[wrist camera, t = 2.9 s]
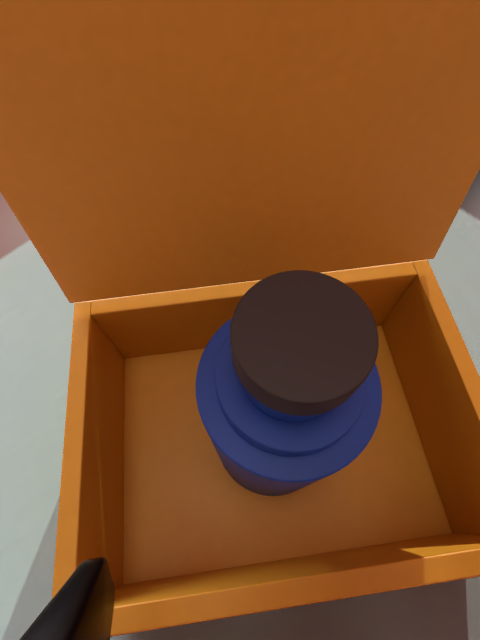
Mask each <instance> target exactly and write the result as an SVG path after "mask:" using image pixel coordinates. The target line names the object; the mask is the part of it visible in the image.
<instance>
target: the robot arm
mask: <svg viewBox="0 0 480 640" xmlns="http://www.w3.org/2000/svg"><path fill="white" fill-rule="evenodd" d="M114 603H115V587H114V583H113V580H112V576H111V573H110V569H109V566H108V562H107V560H106V559H105V558H104V557H99V558H93V559H87V560H84V561H83V562H82V563H81V564H80V565H79V566H78V567H77V569H76V570H75V571H74V572H73V574H72V575H71V576H70V577H69V579H68V580H67V581H66V582H65V584H64V585H63V586H62V587H61V589H60V590H59V591H58V592H57V594H56V595H55V596H54V597H53V599H52V600H51V601H50V602H49V604H48V605H47V606H46V607H45V609H44V610H43V611H42V612H41V614H40V615H39V616H38V617H37V619H36V620H35V621H34V622H33V624H32V625H31V626H30V627H29V629H28V630H27V631H26V632H25V634H24V635H23V636H22V637H21V639H20V640H110V635H111V627H112V619H113V611H114Z"/></svg>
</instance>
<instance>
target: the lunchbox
mask: <svg viewBox="0 0 480 640" xmlns="http://www.w3.org/2000/svg"><path fill="white" fill-rule="evenodd" d="M323 274H326V275H329V276H331V277H333V278H336V279H338V280H340V281H341V282H343V283H345V284H346V285H348V286H349V287H350V288H352V289H353V290H354V291H355V292H356V293H357V294H358V295H359V296H360V297H361V298H362V299H363V301H364V302H365V303H366V304H367V306H368V308H369V309H370V311H371V313H372V315H373V317H374V319H375V323H376V326H377V330H378V337H379V348H378V355H377V359H376V362H375V364H376V366H377V369H378V373H379V376H380V381H381V388H382V406H381V414H380V417H379V421H378V425H377V427H376V430H375V432H374V434H373V436H372V438H371V440H370V441H369V443H368V445H367V446H366V448H365V449H364V450H363V451H362V452H361V453H360V455H359V456H358V457H357V458H356V459H355V460H353V461H352V462H351V463H350V464H349V465H348V466H346V467H344V468H343V469H341V470H339V471H338V472H336V473H334V474H332V475H330V476H327V477H325V478H323V479H321V480H319V481H316V482H314V483H312V484H310V485H308V486H305V487H303V488H301V489H299V490H297V491H294V492H292V493H289V494H286V495H281V496H265V495H260V494H257V493H254V492H251V491H249V490H247V489H245V488H244V487H242V486H241V485H239V484H238V483H237V482H236V481H235V480H234V479H233V478H232V477H231V476H230V475H229V473H228V472H227V470H226V469H225V467H224V465H223V463H222V461H221V459H220V457H219V455H218V453H217V451H216V449H215V447H214V445H213V443H212V441H211V439H210V437H209V435H208V433H207V431H206V429H205V427H204V424H203V422H202V420H201V417H200V414H199V411H198V406H197V401H196V389H195V384H196V374H197V369H198V365H199V361H200V359H201V356H202V353H203V351H204V349H205V347H206V346H207V344H208V342H209V341H210V339H211V338H212V336H213V335H214V334H215V333H216V332H217V331H218V329H219V328H220V327H221V326H222V325H224V324H225V323H226V322H227V321H228V320H229V319H231V318H232V316H233V313H234V310H235V308H236V306H237V304H238V302H239V301H240V299H241V298H242V296H243V295H244V294H245V293H246V292H247V291H248V290H249V289H250V288H251V287H252V286H254V285H255V284H256V283H258V282H259V281H261V280H259V281H251V282H243V283H235V284H226V285H218V286H210V287H202V288H194V289H185V290H177V291H169V292H161V293H153V294H144V295H136V296H128V297H120V298H112V299H104V300H95V301H92V302H91V301H87V302H79V303H75V306H74V319H73V332H72V345H71V358H70V371H69V384H68V397H67V410H66V423H65V436H64V449H63V462H62V475H61V488H60V501H59V514H58V527H57V540H56V553H55V566H54V579H53V592H52V599H53V597H54V596H55V595H56V594H57V592H58V591H59V590H60V589H61V587H62V586H63V585H64V584H65V582H66V581H67V580H68V579H69V577H70V576H71V575H72V574H73V572H74V571H75V570H76V569H77V567H78V566H79V565H80V564H81V563H82V562H83V561H84V560H87V559H93V558H99V557H104V558H105V559H106V560H107V562H108V566H109V569H110V573H111V576H112V580H113V583H114V587H115V603H114V611H113V619H112V627H111V635H110V637H112V636H118V635H124V634H130V633H136V632H142V631H148V630H155V629H161V628H167V627H173V626H179V625H185V624H191V623H197V622H203V621H210V620H216V619H222V618H228V617H234V616H240V615H246V614H252V613H259V612H265V611H271V610H277V609H283V608H289V607H295V606H301V605H307V604H314V603H320V602H326V601H332V600H338V599H344V598H350V597H356V596H362V595H369V594H375V593H381V592H387V591H393V590H399V589H405V588H411V587H418V586H424V585H430V584H436V583H442V582H448V581H454V580H460V579H466V578H473V577H479V576H480V377H479V375H478V373H477V370H476V368H475V366H474V364H473V361H472V359H471V357H470V355H469V352H468V350H467V348H466V346H465V343H464V341H463V339H462V337H461V334H460V332H459V330H458V328H457V325H456V323H455V321H454V319H453V316H452V314H451V312H450V310H449V307H448V305H447V303H446V301H445V298H444V296H443V294H442V291H441V289H440V287H439V285H438V282H437V280H436V278H435V276H434V273H433V271H432V269H431V267H430V264H429V262H428V260H422V261H414V262H407V263H398V264H390V265H382V266H374V267H366V268H357V269H349V270H341V271H333V272H325V273H323Z"/></svg>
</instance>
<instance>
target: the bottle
mask: <svg viewBox="0 0 480 640" xmlns="http://www.w3.org/2000/svg"><path fill="white" fill-rule="evenodd" d="M378 348H379V337H378V330H377V326H376V323H375V319H374V317H373V315H372V313H371V311H370V309H369V308H368V306H367V304H366V303H365V302H364V301H363V299H362V298H361V297H360V296H359V295H358V294H357V293H356V292H355V291H354V290H353V289H352V288H350V287H349V286H348V285H346V284H345V283H343V282H341V281H340V280H338V279H336V278H333V277H331V276H329V275H326V274H323V273H319V272H314V271H307V270H293V271H285V272H280V273H277V274H274V275H271V276H269V277H266V278H264V279H262V280H261V281H259V282H258V283H256V284H255V285H254V286H252V287H251V288H250V289H249V290H248V291H247V292H246V293H245V294H244V295H243V296H242V298H241V299H240V301H239V302H238V304H237V306H236V308H235V310H234V313H233V316H232V318H231V319H229V320H228V321H227V322H226V323H225V324H224V325H222V326H221V327H220V328H219V329H218V331H217V332H216V333H215V334H214V335H213V336H212V338H211V339H210V341H209V342H208V344H207V346H206V347H205V349H204V351H203V353H202V356H201V359H200V361H199V365H198V369H197V374H196V384H195V389H196V401H197V406H198V411H199V414H200V417H201V420H202V422H203V424H204V427H205V429H206V431H207V433H208V435H209V437H210V439H211V441H212V443H213V445H214V447H215V449H216V451H217V453H218V455H219V457H220V459H221V461H222V463H223V465H224V467H225V469H226V470H227V472H228V473H229V475H230V476H231V477H232V478H233V479H234V480H235V481H236V482H237V483H238V484H239V485H241V486H242V487H244V488H245V489H247V490H249V491H251V492H254V493H257V494H260V495H265V496H281V495H286V494H289V493H292V492H294V491H297V490H299V489H301V488H303V487H305V486H308V485H310V484H312V483H314V482H316V481H319V480H321V479H323V478H325V477H327V476H330V475H332V474H334V473H336V472H338V471H339V470H341V469H343V468H344V467H346V466H348V465H349V464H350V463H351V462H352V461H353V460H355V459H356V458H357V457H358V456H359V455H360V453H361V452H362V451H363V450H364V449H365V448H366V446H367V445H368V443H369V441H370V440H371V438H372V436H373V434H374V432H375V430H376V427H377V425H378V421H379V417H380V414H381V406H382V388H381V381H380V376H379V373H378V369H377V366H376V364H375V362H376V359H377V355H378Z"/></svg>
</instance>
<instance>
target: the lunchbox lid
mask: <svg viewBox="0 0 480 640" xmlns="http://www.w3.org/2000/svg"><path fill="white" fill-rule="evenodd" d="M479 168H480V0H0V192H1V193H2V195H3V196H4V198H5V200H6V201H7V203H8V204H9V206H10V207H11V209H12V211H13V212H14V214H15V216H16V217H17V219H18V220H19V222H20V224H21V225H22V227H23V228H24V230H25V232H26V233H27V235H28V236H29V238H30V240H31V241H32V243H33V244H34V246H35V248H36V249H37V251H38V252H39V254H40V256H41V257H42V259H43V260H44V262H45V264H46V265H47V267H48V268H49V270H50V272H51V273H52V275H53V276H54V278H55V280H56V281H57V283H58V284H59V286H60V288H61V289H62V291H63V292H64V294H65V296H66V297H67V299H68V300H69V302H70V303H74V302H82V301H90V300H98V299H107V298H115V297H123V296H131V295H139V294H148V293H156V292H164V291H172V290H180V289H189V288H197V287H205V286H213V285H221V284H230V283H238V282H246V281H254V280H262V279H264V278H266V277H269V276H271V275H274V274H277V273H280V272H285V271H293V270H307V271H314V272H319V273H320V272H328V271H336V270H344V269H353V268H361V267H369V266H377V265H385V264H394V263H402V262H410V261H418V260H426V259H433V258H434V257H435V255H436V253H437V251H438V249H439V247H440V245H441V243H442V241H443V239H444V237H445V235H446V234H447V232H448V230H449V228H450V226H451V224H452V222H453V220H454V218H455V216H456V214H457V212H458V210H459V208H460V206H461V204H462V202H463V200H464V198H465V196H466V194H467V192H468V190H469V188H470V186H471V184H472V182H473V180H474V178H475V176H476V174H477V172H478V170H479Z"/></svg>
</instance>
